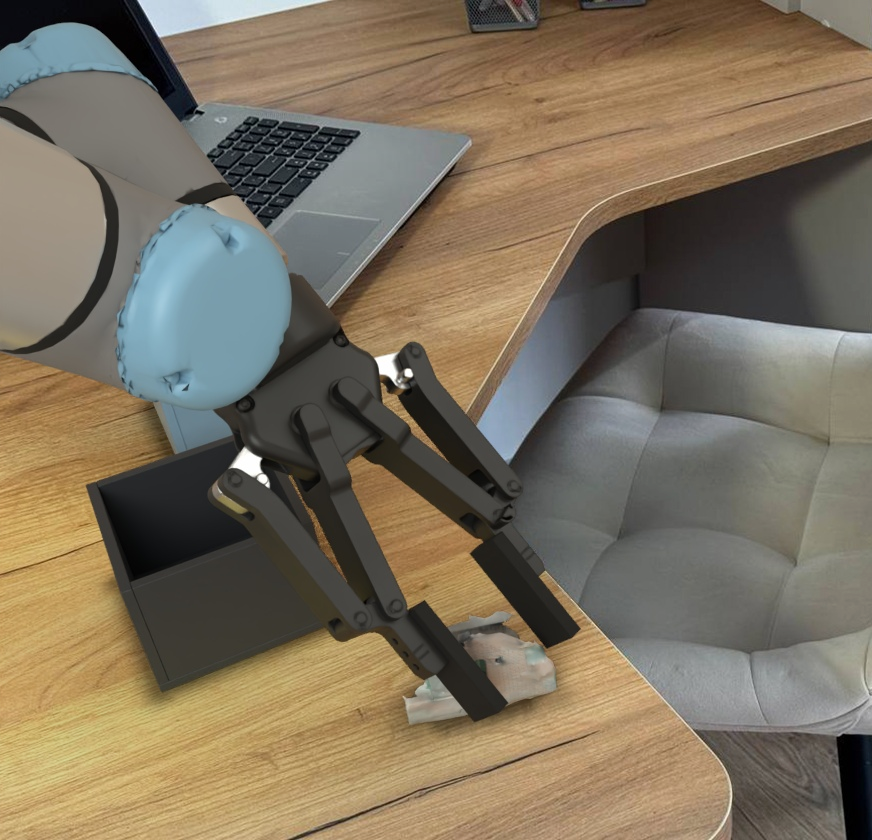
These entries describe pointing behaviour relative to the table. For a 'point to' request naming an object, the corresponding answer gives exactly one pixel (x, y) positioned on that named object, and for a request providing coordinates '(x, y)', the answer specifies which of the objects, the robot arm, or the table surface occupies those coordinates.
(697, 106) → the table surface
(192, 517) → the waste bin
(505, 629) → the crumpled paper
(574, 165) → the table surface
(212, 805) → the table surface
